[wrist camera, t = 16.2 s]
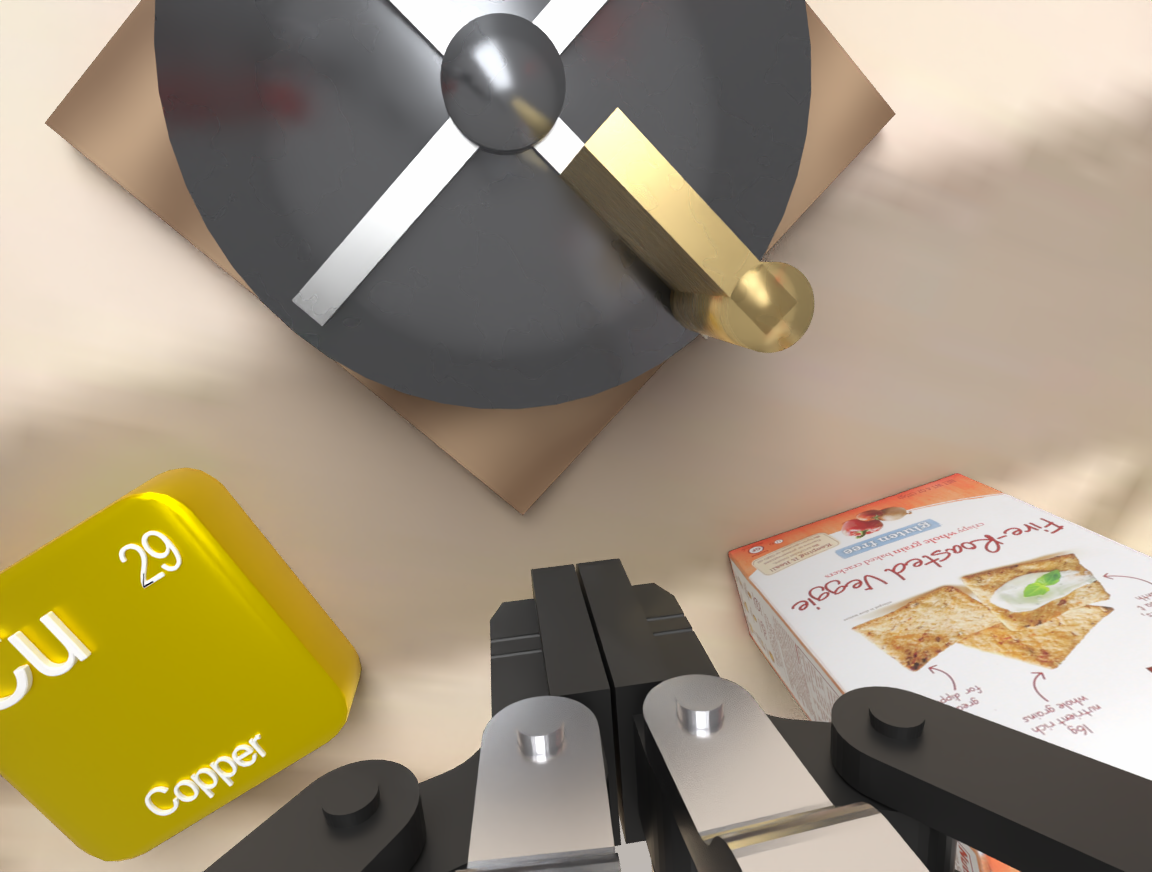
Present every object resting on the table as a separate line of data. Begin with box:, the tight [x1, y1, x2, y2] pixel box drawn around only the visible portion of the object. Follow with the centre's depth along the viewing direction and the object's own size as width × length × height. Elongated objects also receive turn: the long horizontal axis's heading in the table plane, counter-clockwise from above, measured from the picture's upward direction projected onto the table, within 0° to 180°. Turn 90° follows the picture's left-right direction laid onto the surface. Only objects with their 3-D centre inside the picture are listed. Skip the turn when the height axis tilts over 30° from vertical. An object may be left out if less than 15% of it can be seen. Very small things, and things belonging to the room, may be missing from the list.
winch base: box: [45, 0, 895, 515], centre depth 29 cm, size 27×26×5 cm
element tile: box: [0, 468, 361, 861], centre depth 33 cm, size 15×15×5 cm
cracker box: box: [728, 473, 1152, 872], centre depth 29 cm, size 14×6×21 cm, turn 107°
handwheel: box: [154, 0, 814, 409], centre depth 23 cm, size 24×24×8 cm
